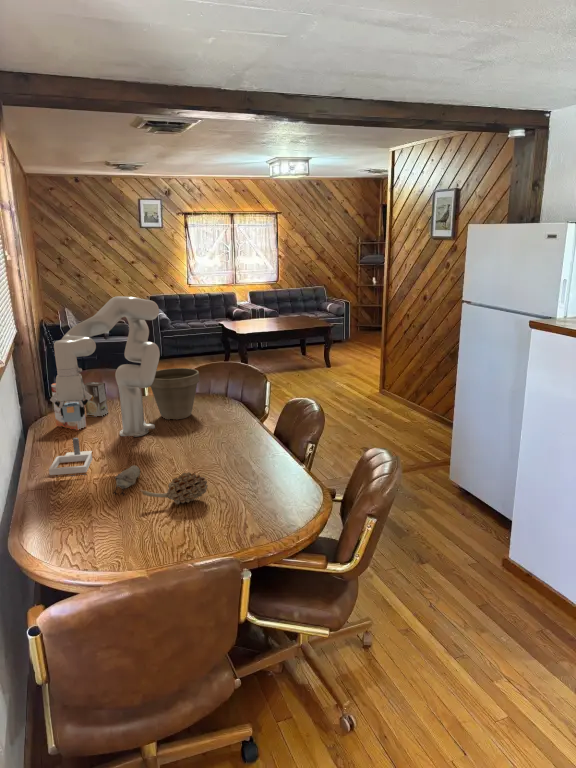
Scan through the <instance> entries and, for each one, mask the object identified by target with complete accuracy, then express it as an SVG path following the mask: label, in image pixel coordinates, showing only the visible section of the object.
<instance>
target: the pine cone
mask: <svg viewBox="0 0 576 768" xmlns="http://www.w3.org/2000/svg"><path fill="white" fill-rule="evenodd" d="M208 486H209V485H208V481H207V479H206V477H204V476H200V474H197V475H196V472H195V473H191V472H190V471H189V472H183V473H181V475H178V476H177V477H174V478H173V479H171V482H169V483H168V489H167V492H164V493H161V492H157V493H156V492H151V491H148V490H143V489H139V491H140V492H141V494H142V495H143V496H146V497H153V498H165V499H167V498H168V500H169V499H170V500H172V501H173V502H174V504H176V505H179V504H185V503H188V504H189V503H190V501H191V502H194V500H196V499H198V498H200V497H202V496H203V495H204V494H206V493H207V489H208Z"/></svg>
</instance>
